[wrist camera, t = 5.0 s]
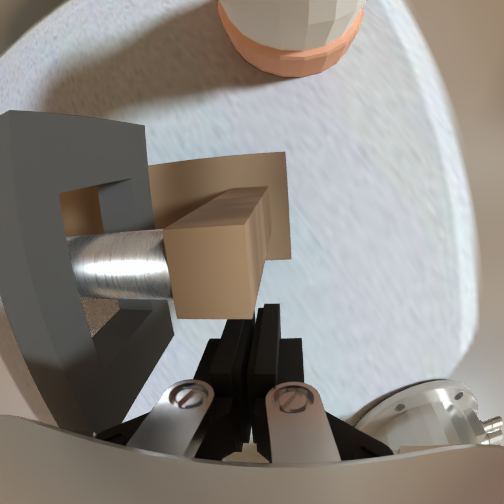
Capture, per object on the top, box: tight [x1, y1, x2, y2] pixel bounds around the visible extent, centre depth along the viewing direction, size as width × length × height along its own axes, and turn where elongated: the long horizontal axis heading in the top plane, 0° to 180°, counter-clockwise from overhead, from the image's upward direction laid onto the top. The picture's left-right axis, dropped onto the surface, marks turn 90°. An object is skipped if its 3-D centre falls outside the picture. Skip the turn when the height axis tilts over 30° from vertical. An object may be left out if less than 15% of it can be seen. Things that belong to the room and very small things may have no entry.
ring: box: [0, 110, 174, 435], centre depth 9 cm, size 2×9×7 cm, turn 5°
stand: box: [59, 152, 291, 319], centre depth 14 cm, size 24×6×11 cm, turn 94°
